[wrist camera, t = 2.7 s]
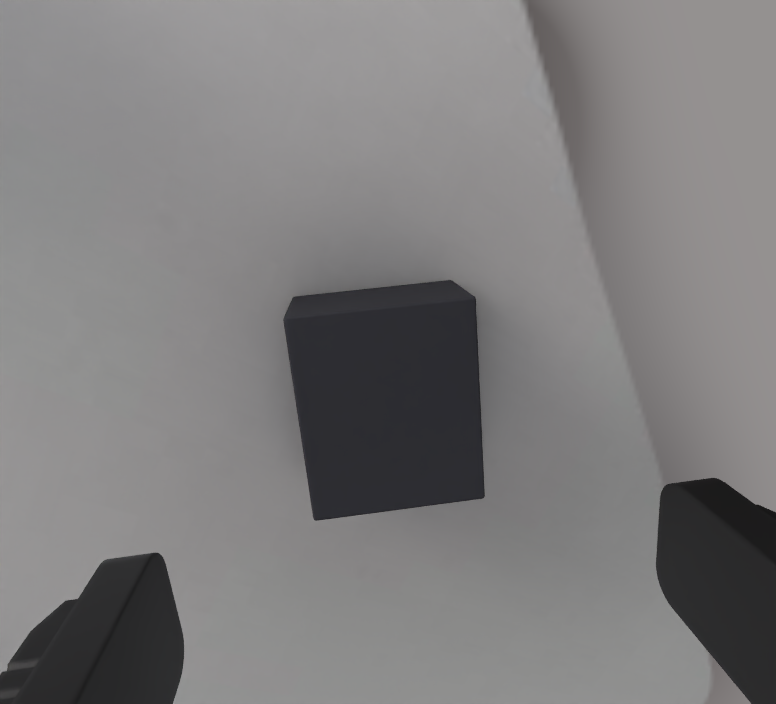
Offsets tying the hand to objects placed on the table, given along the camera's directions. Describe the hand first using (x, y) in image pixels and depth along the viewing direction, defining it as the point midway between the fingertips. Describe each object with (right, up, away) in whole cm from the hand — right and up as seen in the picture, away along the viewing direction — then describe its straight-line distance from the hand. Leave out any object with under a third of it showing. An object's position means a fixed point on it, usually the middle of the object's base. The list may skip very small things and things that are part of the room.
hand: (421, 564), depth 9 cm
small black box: (-1, +2, +9) cm, 9 cm away
